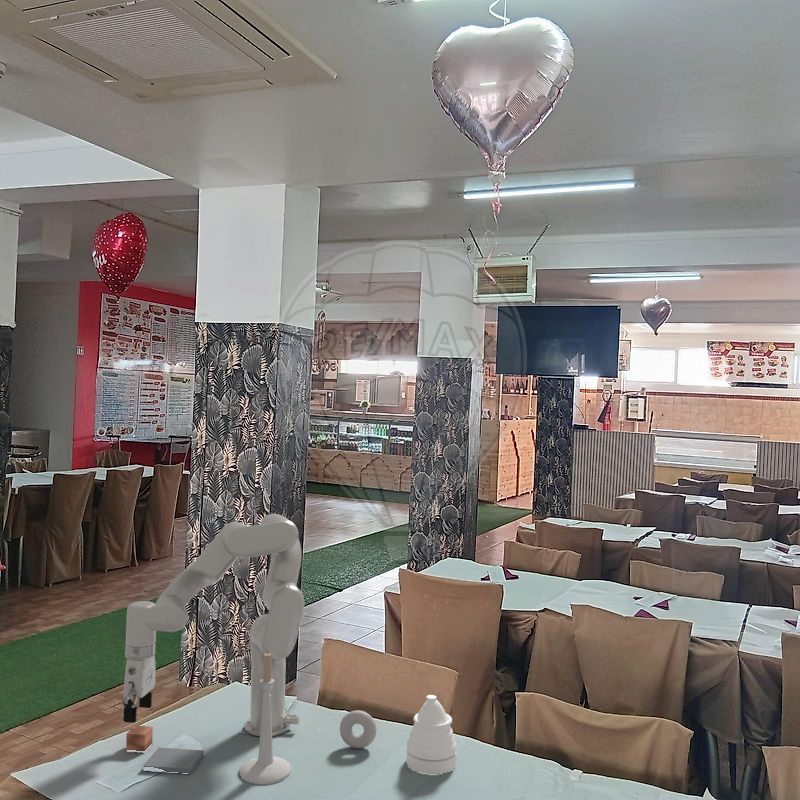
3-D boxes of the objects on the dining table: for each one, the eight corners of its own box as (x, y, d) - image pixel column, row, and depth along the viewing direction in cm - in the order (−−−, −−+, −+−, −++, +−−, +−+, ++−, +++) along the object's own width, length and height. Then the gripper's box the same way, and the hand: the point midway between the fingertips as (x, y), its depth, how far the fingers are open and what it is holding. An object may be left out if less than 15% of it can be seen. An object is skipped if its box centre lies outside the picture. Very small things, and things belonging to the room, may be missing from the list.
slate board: (203, 756, 205) (203, 750, 205) (189, 774, 196) (189, 768, 196) (158, 753, 207) (158, 747, 206) (142, 771, 197) (142, 765, 197)
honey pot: (452, 778, 197) (454, 706, 196) (401, 772, 199) (403, 701, 199) (459, 754, 209) (460, 687, 209) (411, 749, 212) (412, 682, 212)
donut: (377, 746, 213) (377, 709, 213) (375, 752, 210) (375, 714, 210) (340, 743, 214) (341, 706, 214) (338, 749, 211) (338, 712, 211)
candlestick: (241, 787, 190) (243, 663, 190) (237, 762, 202) (239, 645, 202) (294, 781, 193) (296, 659, 193) (287, 757, 206) (289, 642, 205)
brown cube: (152, 745, 211) (152, 726, 211) (144, 753, 206) (145, 734, 206) (134, 744, 212) (134, 725, 212) (126, 752, 207) (126, 733, 207)
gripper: (140, 661, 200) (137, 729, 200) (166, 640, 217) (164, 703, 217) (111, 659, 200) (109, 727, 200) (140, 638, 218) (137, 701, 218)
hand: (137, 714), depth 209 cm, fingers open, 9 cm apart
